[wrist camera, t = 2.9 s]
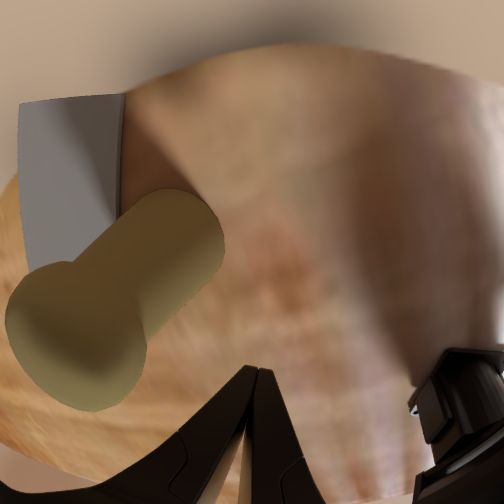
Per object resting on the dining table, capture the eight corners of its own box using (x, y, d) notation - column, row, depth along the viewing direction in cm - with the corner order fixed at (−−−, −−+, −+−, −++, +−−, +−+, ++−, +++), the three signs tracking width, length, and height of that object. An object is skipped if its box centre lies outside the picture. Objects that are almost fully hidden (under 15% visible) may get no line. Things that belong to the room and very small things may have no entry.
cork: (115, 197, 17) (-39, 282, 7) (213, 179, 16) (68, 276, 6) (142, 291, 19) (35, 416, 9) (234, 286, 18) (159, 453, 8)
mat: (125, 94, 15) (121, 94, 14) (127, 336, 21) (125, 340, 21) (23, 103, 16) (19, 104, 15) (39, 305, 22) (37, 307, 22)
